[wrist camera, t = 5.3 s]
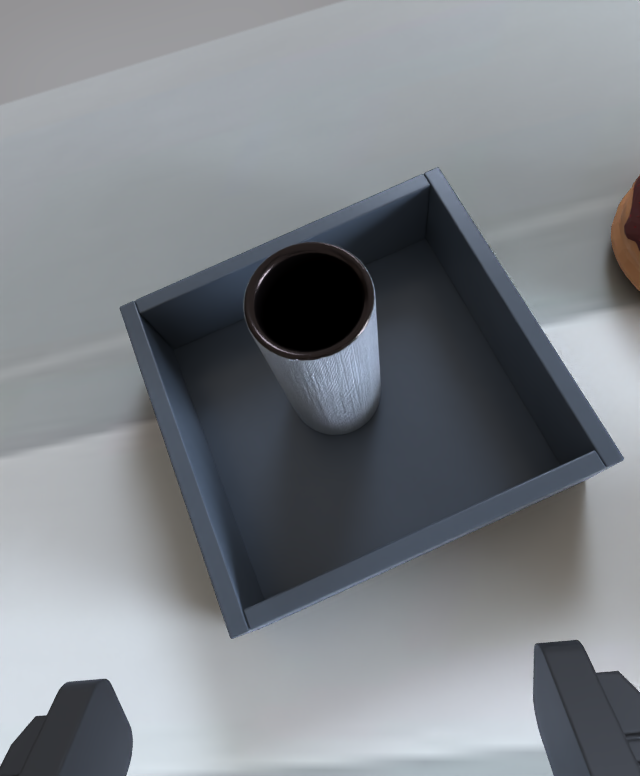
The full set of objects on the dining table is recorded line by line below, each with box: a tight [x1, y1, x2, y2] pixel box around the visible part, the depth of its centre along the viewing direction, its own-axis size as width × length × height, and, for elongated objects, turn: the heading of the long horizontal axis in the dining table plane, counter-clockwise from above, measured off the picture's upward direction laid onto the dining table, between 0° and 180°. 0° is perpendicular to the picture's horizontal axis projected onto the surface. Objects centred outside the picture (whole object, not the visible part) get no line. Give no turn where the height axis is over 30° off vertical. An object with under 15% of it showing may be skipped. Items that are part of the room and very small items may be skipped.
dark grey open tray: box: [120, 167, 624, 639], centre depth 27 cm, size 17×16×5 cm
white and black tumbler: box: [243, 242, 381, 435], centre depth 24 cm, size 4×4×10 cm
